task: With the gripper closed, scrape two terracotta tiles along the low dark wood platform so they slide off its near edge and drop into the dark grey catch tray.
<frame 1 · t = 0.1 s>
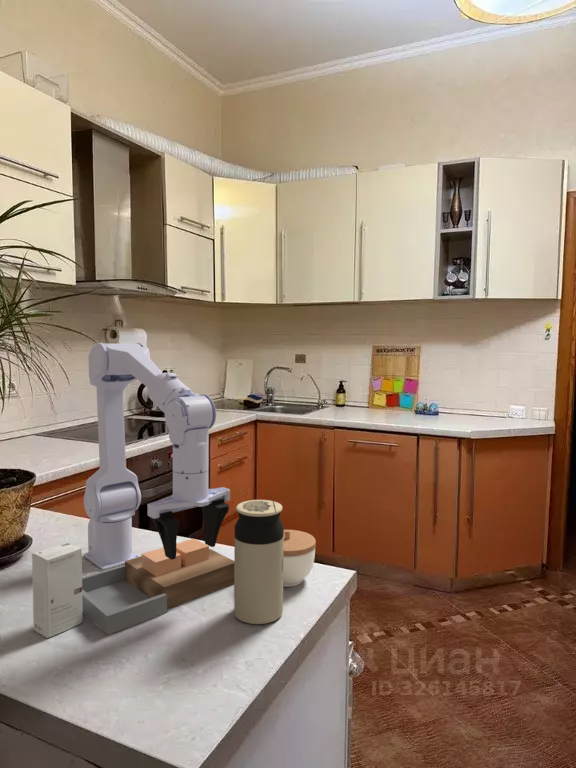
hand: (190, 551, 88), 10 cm above the counter, tool pointing down, fingers open, 7 cm apart
skincare box: (58, 627, 83), on the counter
lidded jar: (286, 580, 100), on the counter
tile front: (161, 567, 95), point 4 cm above the counter, touching dark wood platform
travel mug: (258, 614, 88), on the counter
catch tray: (116, 605, 90), on the counter
tile rear: (190, 558, 100), point 4 cm above the counter, touching dark wood platform
dark wood platform: (180, 582, 98), on the counter
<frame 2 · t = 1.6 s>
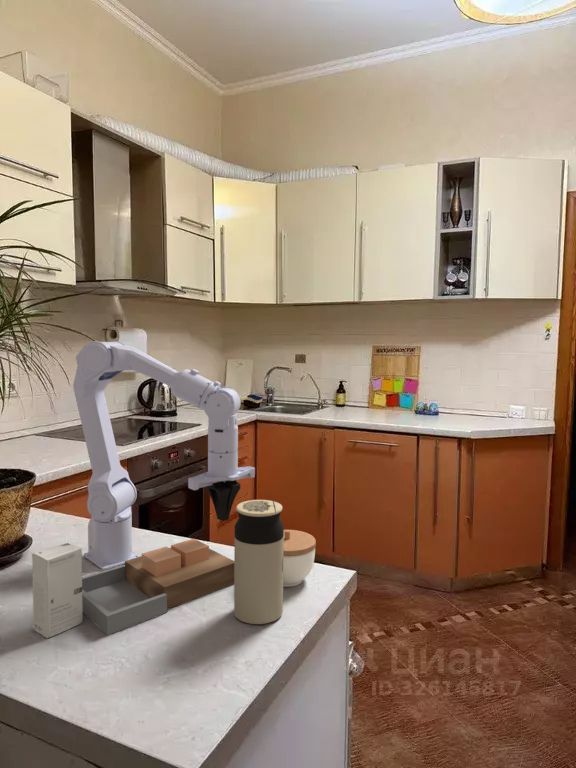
hand: (222, 519, 104), 10 cm above the counter, tool pointing down, fingers closed
nothing on the counter moved.
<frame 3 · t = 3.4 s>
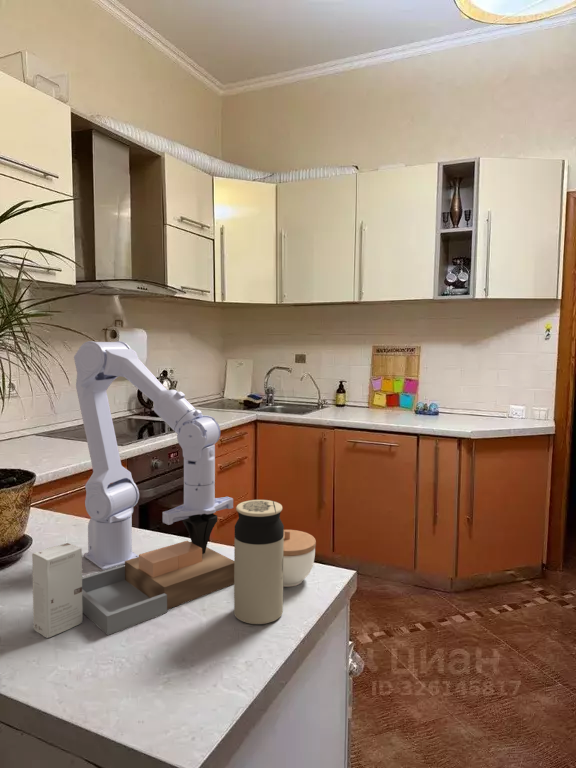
hand: (199, 552, 101), 5 cm above the counter, tool pointing down, fingers closed
tile rear: (183, 560, 98), point 4 cm above the counter, touching dark wood platform, gripper
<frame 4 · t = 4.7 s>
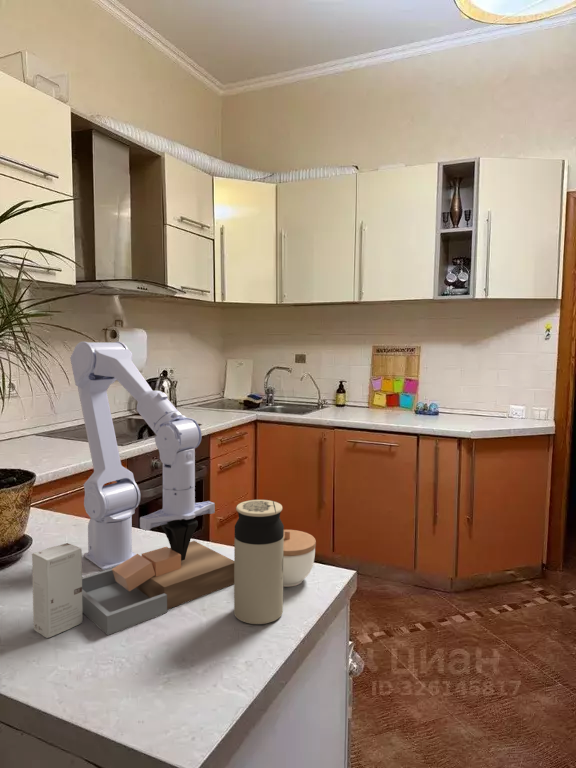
hand: (179, 558, 98), 5 cm above the counter, tool pointing down, fingers closed
tile front: (135, 578, 92), point 4 cm above the counter, tilted 16°, touching dark wood platform
tile rear: (161, 567, 95), point 4 cm above the counter, touching gripper
everything else where it was.
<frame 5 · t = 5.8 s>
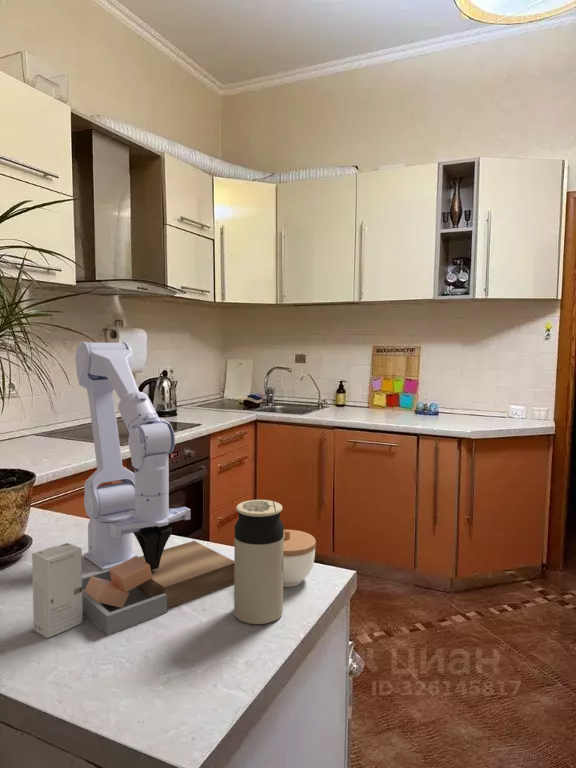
hand: (152, 567, 94), 5 cm above the counter, tool pointing down, fingers closed
tile front: (110, 584, 89), point 4 cm above the counter, tilted 150°, touching catch tray, tile rear
tile rear: (132, 580, 91), point 4 cm above the counter, tilted 11°, touching dark wood platform, tile front
everything else where it was.
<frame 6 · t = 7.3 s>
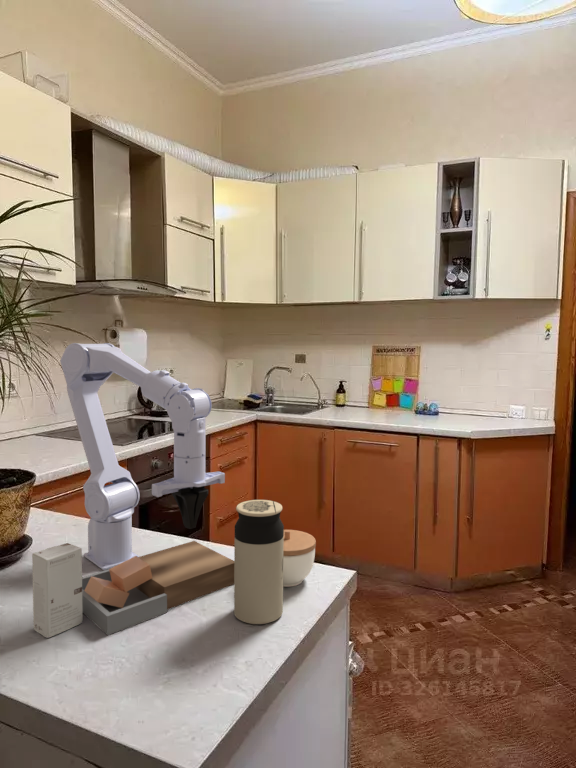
hand: (189, 527, 100), 10 cm above the counter, tool pointing down, fingers closed
nothing on the counter moved.
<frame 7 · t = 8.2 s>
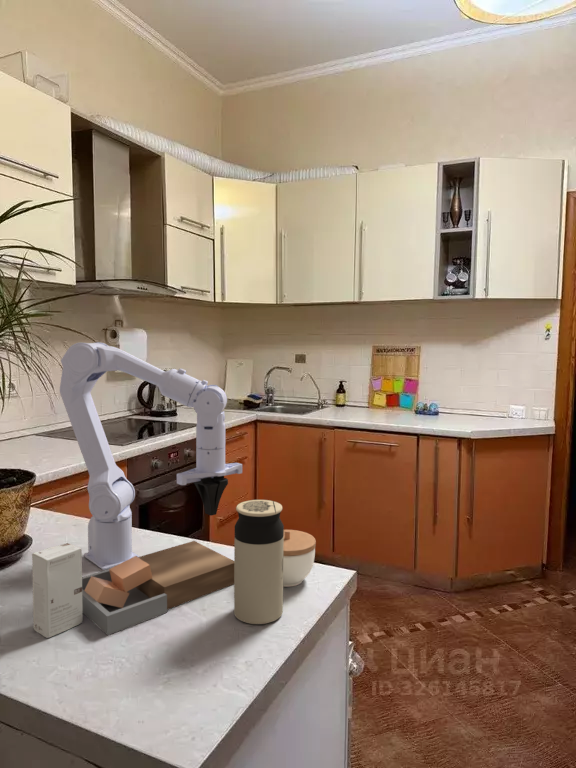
hand: (210, 513, 107), 10 cm above the counter, tool pointing down, fingers closed
nothing on the counter moved.
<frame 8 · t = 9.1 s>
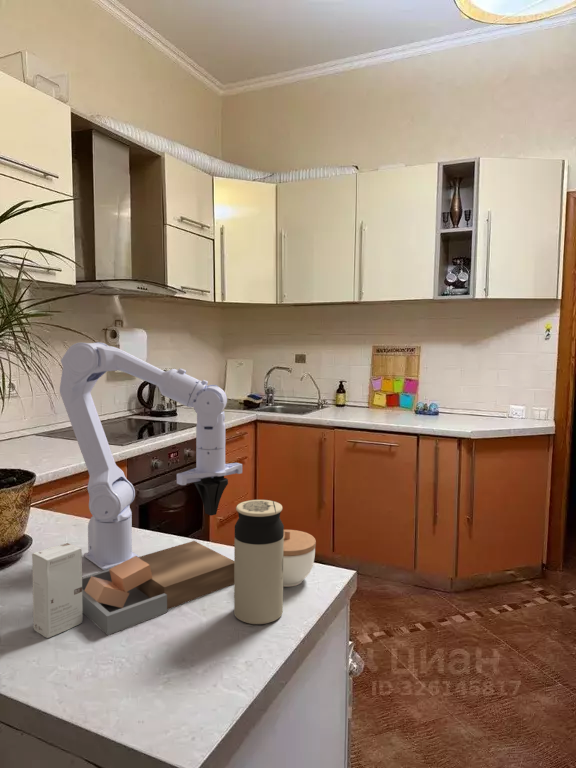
hand: (210, 513, 107), 10 cm above the counter, tool pointing down, fingers closed
nothing on the counter moved.
at the end: tile front inside the target area (0.3 cm from its centre), point 3.8 cm above the counter; tile rear inside the target area (3.6 cm from its centre), point 3.6 cm above the counter; tile front touching catch tray, tile rear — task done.
